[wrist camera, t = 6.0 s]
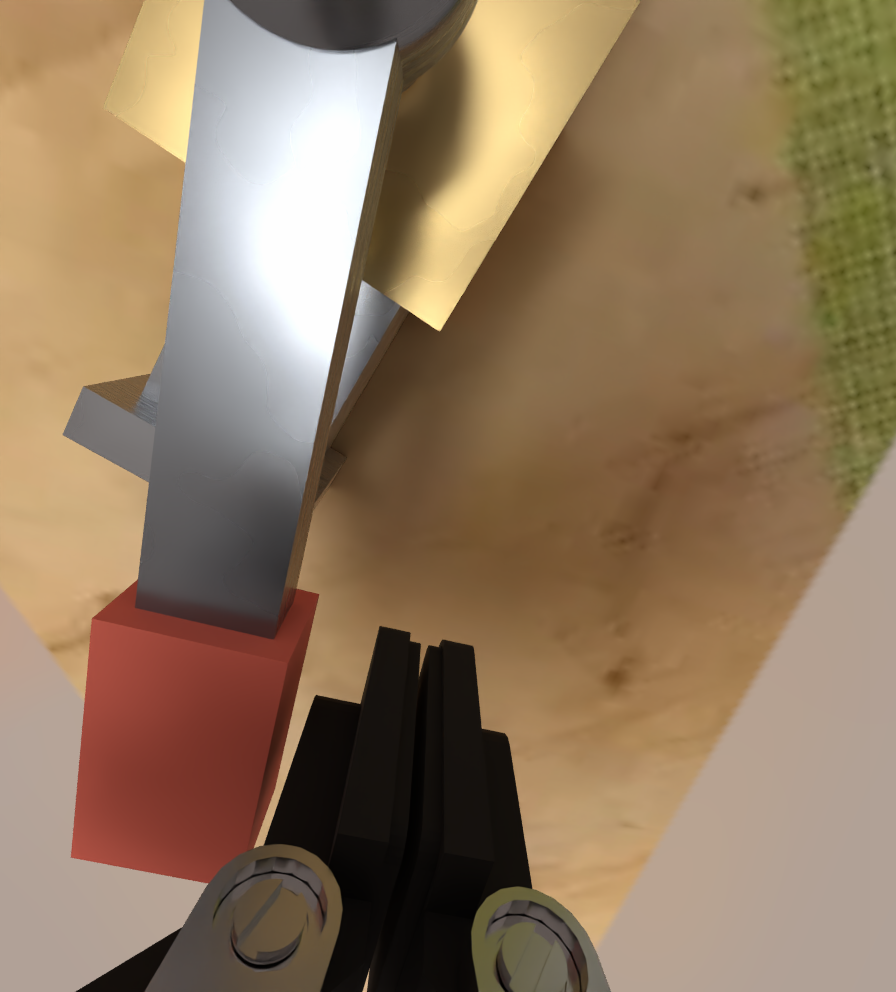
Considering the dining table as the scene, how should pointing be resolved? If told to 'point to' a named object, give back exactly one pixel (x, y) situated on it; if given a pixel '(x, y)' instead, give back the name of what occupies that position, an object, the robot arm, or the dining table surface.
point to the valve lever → (243, 422)
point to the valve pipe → (407, 181)
